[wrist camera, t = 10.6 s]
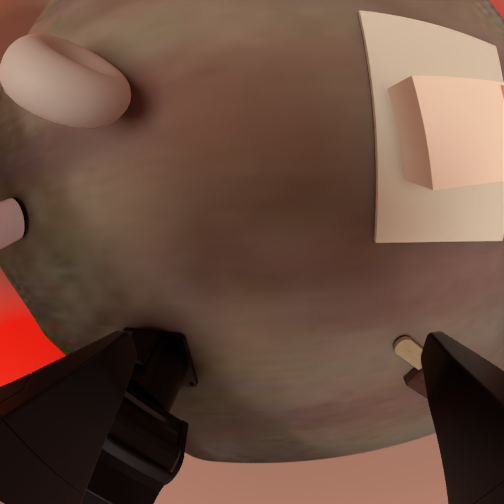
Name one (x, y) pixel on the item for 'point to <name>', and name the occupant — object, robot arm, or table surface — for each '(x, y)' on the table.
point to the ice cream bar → (412, 363)
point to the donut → (63, 82)
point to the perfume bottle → (10, 222)
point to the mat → (387, 140)
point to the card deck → (450, 130)
